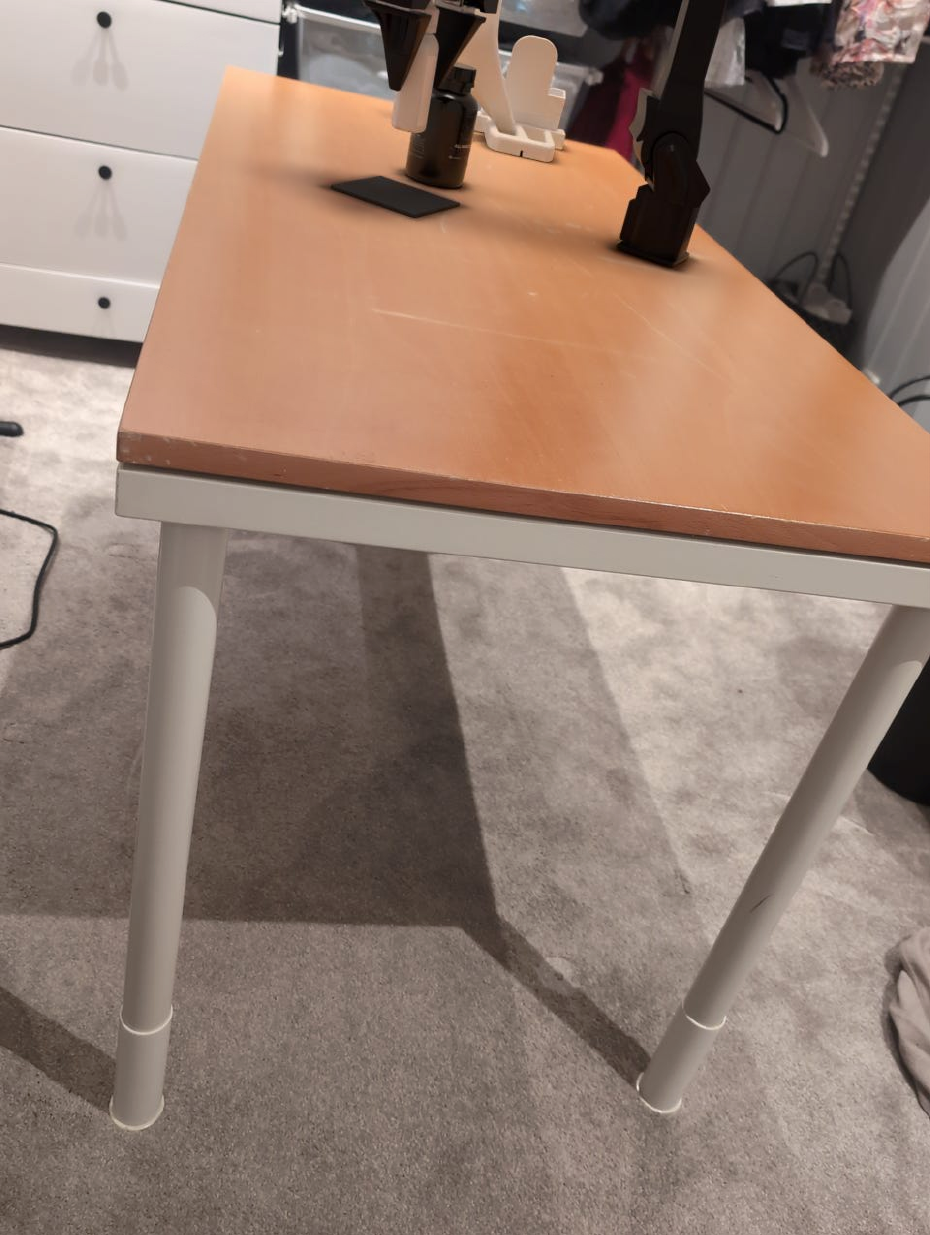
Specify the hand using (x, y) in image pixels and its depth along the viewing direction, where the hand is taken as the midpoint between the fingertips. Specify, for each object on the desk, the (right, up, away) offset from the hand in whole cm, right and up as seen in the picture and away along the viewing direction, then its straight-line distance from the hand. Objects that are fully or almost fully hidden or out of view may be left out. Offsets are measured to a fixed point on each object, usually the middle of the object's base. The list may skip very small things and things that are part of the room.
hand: (415, 89), depth 101 cm
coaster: (-2, -8, +6) cm, 10 cm away
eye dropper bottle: (-1, -3, +2) cm, 4 cm away
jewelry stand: (+7, +16, +44) cm, 47 cm away
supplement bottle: (+1, -2, +16) cm, 16 cm away
